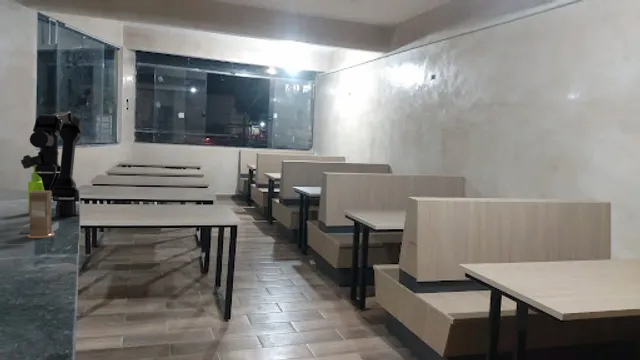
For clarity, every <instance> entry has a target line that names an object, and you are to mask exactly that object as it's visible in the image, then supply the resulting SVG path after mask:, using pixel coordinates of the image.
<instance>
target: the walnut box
mask: <svg viewBox="0 0 640 360" xmlns="http://www.w3.org/2000/svg"><path fill="white" fill-rule="evenodd" d="M29 203H30V214H29V223H30V233H29V234H30V236H47V235H49V234H50V233H52V222H53V221H52V191H32V192H29Z"/></svg>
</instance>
